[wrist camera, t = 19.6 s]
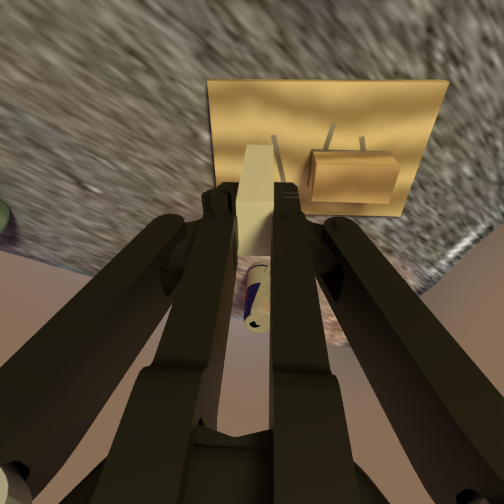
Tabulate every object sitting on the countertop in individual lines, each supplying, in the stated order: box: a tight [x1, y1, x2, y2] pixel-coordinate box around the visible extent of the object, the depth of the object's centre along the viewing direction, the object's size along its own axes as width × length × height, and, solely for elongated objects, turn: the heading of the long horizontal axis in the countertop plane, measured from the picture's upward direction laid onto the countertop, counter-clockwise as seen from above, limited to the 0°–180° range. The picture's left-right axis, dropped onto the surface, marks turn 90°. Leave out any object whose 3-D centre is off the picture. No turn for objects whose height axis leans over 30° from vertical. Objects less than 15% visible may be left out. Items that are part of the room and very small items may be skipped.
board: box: [207, 79, 449, 216], centre depth 40 cm, size 18×28×2 cm, turn 90°
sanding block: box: [307, 149, 401, 204], centre depth 39 cm, size 5×10×5 cm, turn 89°
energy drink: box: [244, 263, 270, 333], centre depth 51 cm, size 5×5×12 cm
